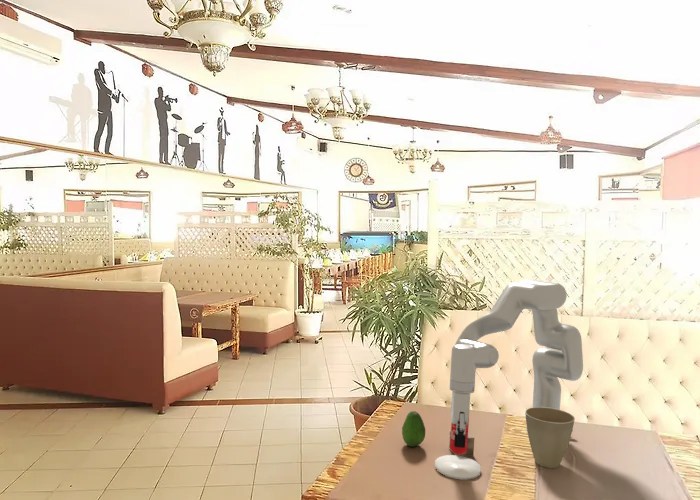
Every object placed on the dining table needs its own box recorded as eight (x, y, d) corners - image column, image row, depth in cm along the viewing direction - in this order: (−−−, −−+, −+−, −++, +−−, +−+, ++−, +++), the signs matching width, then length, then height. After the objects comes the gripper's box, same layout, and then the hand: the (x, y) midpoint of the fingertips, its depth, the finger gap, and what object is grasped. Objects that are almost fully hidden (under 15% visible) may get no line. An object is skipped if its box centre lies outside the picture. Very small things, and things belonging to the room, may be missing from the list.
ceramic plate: (478, 461, 171) (478, 457, 171) (483, 481, 157) (483, 477, 157) (434, 456, 173) (434, 453, 173) (435, 476, 159) (435, 472, 159)
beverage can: (467, 456, 162) (469, 417, 161) (449, 453, 163) (451, 415, 162) (466, 449, 167) (469, 411, 166) (450, 446, 168) (452, 409, 167)
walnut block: (465, 447, 181) (466, 430, 181) (473, 455, 175) (474, 437, 175) (449, 448, 180) (450, 431, 180) (456, 456, 174) (457, 438, 174)
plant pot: (569, 457, 177) (573, 410, 176) (573, 477, 163) (576, 426, 162) (522, 449, 182) (525, 403, 181) (521, 468, 168) (524, 418, 167)
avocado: (398, 447, 179) (400, 412, 178) (405, 439, 186) (406, 405, 185) (421, 452, 176) (423, 417, 175) (427, 443, 183) (429, 409, 182)
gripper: (448, 376, 173) (445, 431, 174) (451, 392, 156) (447, 453, 157) (472, 378, 172) (468, 433, 173) (477, 394, 155) (473, 456, 156)
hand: (458, 442), depth 165 cm, fingers closed on beverage can, 5 cm apart
